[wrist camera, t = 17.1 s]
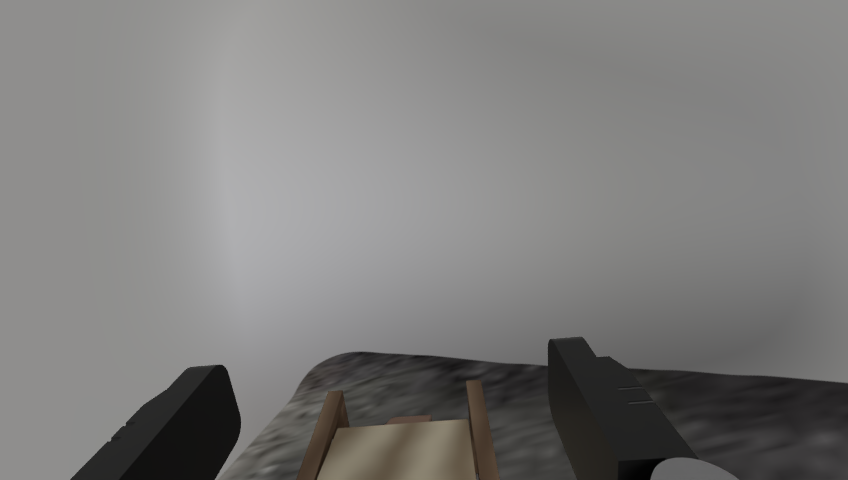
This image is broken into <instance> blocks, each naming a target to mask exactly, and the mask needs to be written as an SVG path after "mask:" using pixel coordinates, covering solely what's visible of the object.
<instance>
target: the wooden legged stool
mask: <svg viewBox="0 0 848 480" xmlns="http://www.w3.org/2000/svg"><path fill="white" fill-rule="evenodd" d="M466 384H467V396H468V409H469V421H470V434H471V445H472V452H473V460H474V467H475V473H478V475H479V480H500V479H499V473H498V468H497V463H496V458H495V452H494V447H493V442H492V437H491V432H490V426H489V421H488V416H487V411H486V405H485V400H484V395H483V390H482V384H481V380H473V381H466ZM338 428H349V422H348V417H347V412H346V407H345V401H344V396H343V391H342V390H341V391H328V394H327V397H326V400H325V402H324V405H323V408H322V411H321V413H320V416H319V419H318V422H317V424H316V427H315V430H314V433H313V435H312V438H311V441H310V444H309V446H308V449H307V452H306V455H305V457H304V460H303V463H302V466H301V468H300V471H299V474H298V477H297V479H296V480H317V478H318V475H319V473H320V471H321V468H322V466H323V463H324V461H325V458H326V456H327V453H328V451H329V448H330V445H331V441H332V438H333V439H334V436H335V434H336V431H337V429H338Z"/></svg>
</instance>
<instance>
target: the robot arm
mask: <svg viewBox="0 0 848 480" xmlns="http://www.w3.org/2000/svg"><path fill="white" fill-rule="evenodd" d="M548 395H549V404H550V409H551V414H552V417H553V420H554V423H555V426H556V428H557V430H558V433H559V435H560V438H561V440H562V443H563V445H564V448H565V450H566V453H567V455H568V458H569V460H570V463H571V465H572V468H573V470H574V473H575V475H576V478H577V480H739V479H737V478H736V477H735V476H733V475H732V474H730V473H728V472H727V471H725V470H723V469H721V468H719V467H717V466H715V465H713V464H710V463H707V462H704V461H701V460H699V459H698V458H697V456H696V455H695V454H694V453H693V451H692V450H691V449H690V447H689V446H688V445H687V444H686V442H685V441H684V440H683V438H682V437H681V436H680V435H679V433H678V432H677V431H676V429H675V428H674V427H673V426H672V424H671V423H670V422H669V420H668V419H667V418H666V417H665V415H664V414H663V413H662V411H661V410H660V409H659V408H658V406H657V405H656V404H655V403H654V404H653V401H652V399H651V397H650V396H649V395H648V393H647V392H646V391H645V390H644V389H642V386H641V384H640V383H639V382H638V381H637V379H636V378H635V377H634V375H633V374H632V373H631V372H630V370H629V369H627V368H626V367H624V366H623V365H621V364H620V363H618V362H617V361H615V360H613V359H612V358H611V357H609V356H608V357H596V355H595V354H594V353H593V351H592V350H591V348H590V347H589V345H588V344H587V342H586V341H585V340H584V338H583V337H572V338H560V339H550V340H549V343H548ZM240 428H241V417H240V412H239V409H238V406H237V402H236V399H235V395H234V392H233V388H232V385H231V381H230V378H229V375H228V371H227V370H226V368H225V367H224V366H223V365H211V366H198V367H190V368H188V369H186V370H185V371H184V372H183V373H182V374H181V375H180V376H179V377H178V379H176V380H175V381H174V382H173V384H172V385H171V386H170V387H169V388H168V389H167V390H165V391H164V392H162V393H161V394H159V395H158V396H157V397H155V398H153V399H152V400H150V401H149V402H147V403H146V404H144V405H143V406H142V407H141V408H140V409H139V410H138V411H137V412H136V413H135V414H134V415H133V416H132V417H131V418H130V419H129V420H128V421H127V422H126V426H123V427H121V428H120V429H119V431H118V432H116V434H115V435H114V436H113V437H112V438H111V441H110V442H107V443H106V444H105V445H104V446H103V447H102V448H101V449H100V450H99V451H98V452H97V453H96V454H95V455H94V456H93V457H92V458H91V459H90V460H89V461H88V462H87V463H86V464H85V465H84V466H83V467H82V468H81V469H80V470H79V471H78V472H77V473H76V474H75V475H74V476H73V477H72V478H71V480H215V478H216V476H217V474H218V473H219V471H220V470H221V468H222V466H223V465H224V463H225V461H226V460H227V458H228V456H229V454H230V452H231V451H232V449H233V448H234V446H235V444H236V442H237V440H238V437H239V434H240Z"/></svg>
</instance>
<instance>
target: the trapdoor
mask: <svg viewBox="0 0 848 480" xmlns="http://www.w3.org/2000/svg"><path fill="white" fill-rule="evenodd" d="M317 480H476V474H475V467H474V460H473V452H472V445H471V438H470V430H469V423H468V419H460V420H446V421H432V422H419V423H405V424H391V425H377V426H363V427H349V428H338V429H337V431H336V434H335V436H334V439H333V441H332V444H331V446H330V448H329V451H328V453H327V456H326V458H325V461H324V463H323V466H322V468H321V471H320V473H319V475H318V478H317Z"/></svg>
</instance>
